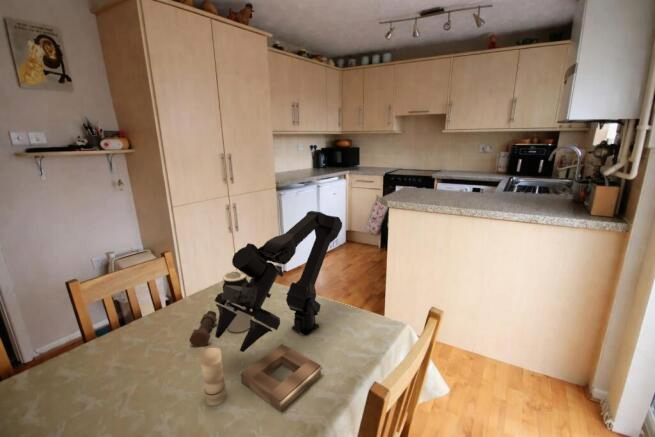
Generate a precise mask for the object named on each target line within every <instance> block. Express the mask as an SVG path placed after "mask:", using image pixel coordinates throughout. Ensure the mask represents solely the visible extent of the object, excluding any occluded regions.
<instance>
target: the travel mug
mask: <svg viewBox="0 0 655 437" xmlns="http://www.w3.org/2000/svg"><path fill="white" fill-rule="evenodd" d="M247 277H248V276H247V275H246V274H244V273H243V272H241V271H240V270H238V269H237V270H232V271H229V272H226V273H224V274H223V275H222V280H223V284H222V293H224V289H225V286H226V285H229V286H240V287H242V285H243V283H245V282H248V283H249V281H248V279H247ZM244 308H246V307H244ZM249 311H251V312H252V309H250V310H249ZM233 312H234V313H236V314H237V316H236V317H235V318H234V320H233V321H232V322H231V324H230V325H229V326H228V328H227V329H226V330H228V331H229V332H231V333H241V332H245V331H247V330H249V329H250V319H251V320H253V317H252V316H250V315H248V314H246V313H243V312H241V311H239V310H238V311H236V312H235V311H233Z"/></svg>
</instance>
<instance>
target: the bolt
mask: <svg viewBox="0 0 655 437" xmlns="http://www.w3.org/2000/svg"><path fill="white" fill-rule="evenodd" d="M217 321H218V319H217V312H216V311H214V310H208V311H207V312H206V313H204V314H203V316H202V318H201V320H200V322H199V323H200V325H199V327H198V328H197V329H193V331H192V333H191V335H190V337H189V340H188V341H189V343H190V344H191V346H193V347H194V348H203V347H206V346H207V344H208V342H209V340H210V338H211V335H210V333H209V332H210V331H211V329H213V328H214V326H215V324H216V322H217Z"/></svg>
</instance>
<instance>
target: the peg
mask: <svg viewBox="0 0 655 437" xmlns="http://www.w3.org/2000/svg"><path fill="white" fill-rule="evenodd" d="M199 357H200V365H201V373H202V379H203V380H202V381H203V387H204V389H203V390H204V395H205V402H206V404H207V405H208V406H211V407H213V406H218V405H220V404H222V403H223V402H224V401H225V400H226V397H227V394H226V383H225V376H224V375H225V374H224V366H223V358H222V351H221V348H219V347H209V348H206V349H205V350H203V351H202V352H201V354H200V355H199Z"/></svg>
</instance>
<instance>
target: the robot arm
mask: <svg viewBox="0 0 655 437" xmlns="http://www.w3.org/2000/svg"><path fill="white" fill-rule="evenodd" d="M342 228H343V221H342V220H341V218H340V217H339V216H334V215H328V214H326V213H323V212H321V211H316V210H310V211H307V212H306V215H305V216H304V217H303V218H301V219H300V220H299V221H297V222H296V224H294V225H293V226H292V227H291V228H289V230H287V231H286V232H285V233H283V234H280V235H276V236H274V237H272V238H270V239H269V240H267V241H266V242H264V244H263V245H262V246H260V247H259V248H258V247H257V245H255V244H254V243H251V242H250V243H249V242H248V243H247V244H246V246H243V247H241V248H240V249H238V251H236V252H235V253H234V255H233V256H232V260H231V261H232V262H231V263H232V266H233V267H234V268H236V270H237V271H238V270H239V271H241V272H243V273H244V274H246V275H247V277H248V278H250V280H249V281H248V282H249V283H248V282H245V283H243V285H242V287H240V286H229V285H226V286H225V289H224V293H223V292H220V293H218V294H217V296H216V297H215V299H214V302H215V303H216V304H215V306H216V307H217V309H218V312H219V315H218V319H217V326H216V329H215V330H216V331H215V338H217V339H220V338H221V337H222V335H223V334H224V333H225V332H226V330H228V329H227V328H228V326H229V325H230V324H231V322H232V321H233V320H234V318H235V317H236V316H237V314H236V313H234V312H233V311H235V312H236V311H238V310H239V311H241V312H243V313H246V314H248V315H250V316H252V318H253V319H252V320H251V319H250V328H249V329H248V331H247V334H246V335H245V337H244V340H243V341H242V343H241V346H240V348H239V351H240V352H242V353H244V352H245V351H247V349H249V348H250V347H251V346H253V344H255V343H256V342H257V341H258V340H259V339H260V338H262V337H263V336H264V335H265V336H266V334H267V333H269V332H270V333H271V332H273V330H275V331H278V329H279V327H280V325H281V318H280V317H279V316H278V315H275V314H273V313H272V312H270V311H269V310H266V309H264V308H262V307H263V305H264V303H265V300H266V299H270V298H271V296H272V294H271V293H270V291H271V289H272V287H273V285H274V283H275V281H276V279H277V277H281V278H283V277H284V272H283V267H282V266H281V265H287V263H289V262H290V261H291V260H292V258H293V257H294V256H295V254H296V251H297V247H298V246H299V245H300V244H301V243H302V242H303V241H304V240H305V239H306V238H307V237H308V236H309V235H310V234H312V233H313V231H314V235H315V239H314V241H313V244H312V247H311V249H310V252H309V255H308V258H307V260H306V263H305V265H304V267H303V270H302V274H301V275H300V278H299V279H298V280H297V281H296V282H293V281H292V282H291V283H290V285H289V288H288V291H287V293H286V298H285V301H286V305H287V307H288V308H289V310H290V311H292V312H294V318H293V323H294V324H293V325H292V326H291V330H293V331H295V332H297V333H299V334H301V335H303V336H308V335H310V334H311V333H312V332H314V331H315V330H317V329H319V327H320V324H318V323H316V316H318V314H319V313H320V310H321V306H322V305H321V304H320V303H319V302H318V301H317V300H316V298H317V291H316V286H315V285H316V282H317V279H318V276H319V275H320V271H321V269H322V266H323V263H324V262H325V261H324V260H325V258H326V256H327V252H328V249H329V246H330V245H331V243H332V242H334V240H336V239H337V238H338V236H339V234H340V233H341V230H342ZM274 263H276V264H274ZM277 264H280V265H277ZM244 307H246V308H244ZM250 309H251V311H249V310H250Z"/></svg>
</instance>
